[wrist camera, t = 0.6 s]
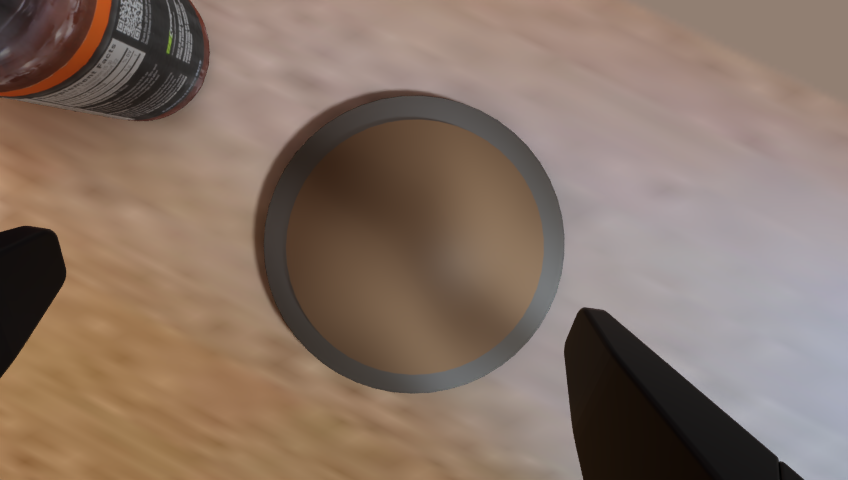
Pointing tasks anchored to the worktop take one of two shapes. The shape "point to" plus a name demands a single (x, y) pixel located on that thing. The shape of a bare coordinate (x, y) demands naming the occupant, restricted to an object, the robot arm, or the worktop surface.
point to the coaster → (414, 244)
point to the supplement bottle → (103, 55)
